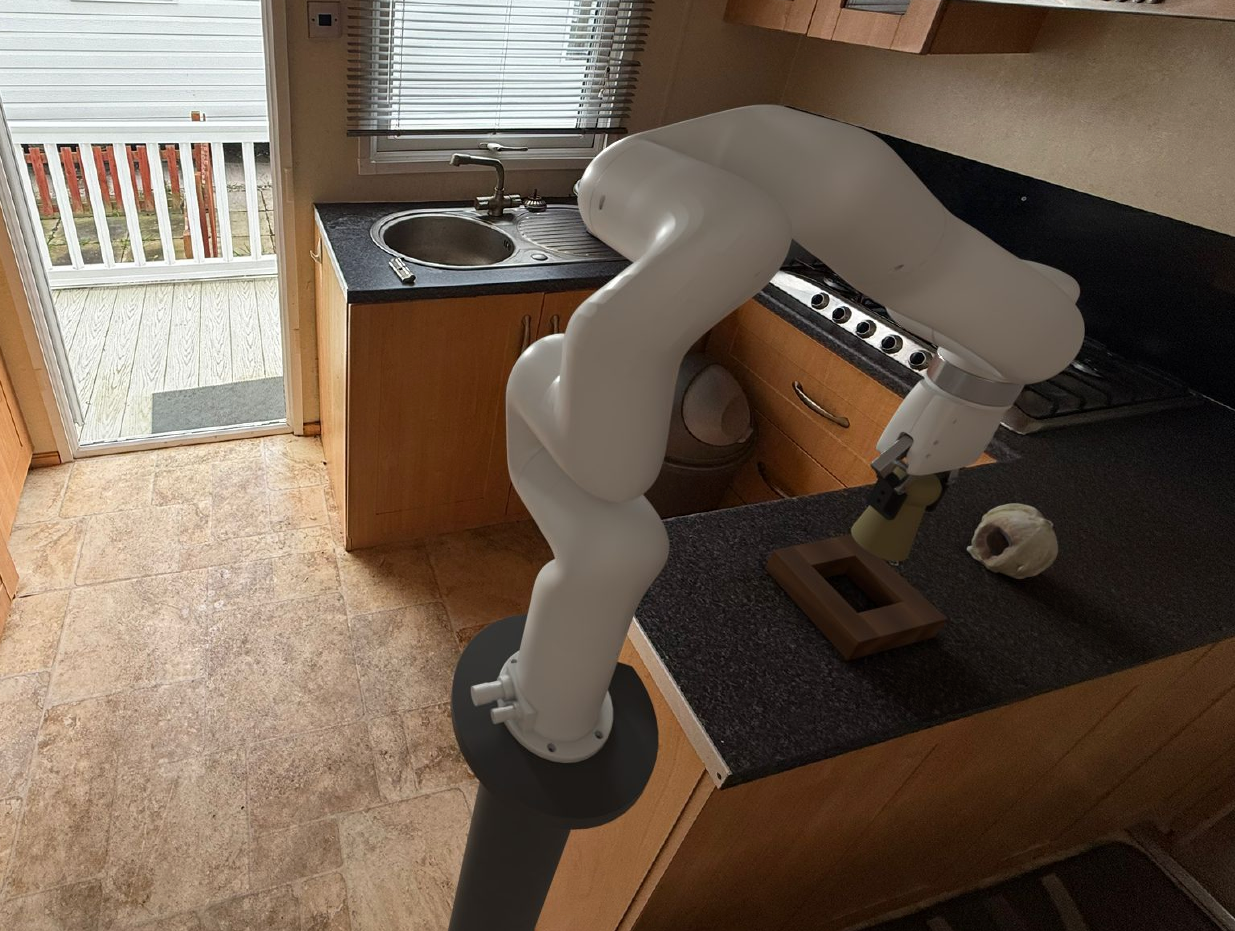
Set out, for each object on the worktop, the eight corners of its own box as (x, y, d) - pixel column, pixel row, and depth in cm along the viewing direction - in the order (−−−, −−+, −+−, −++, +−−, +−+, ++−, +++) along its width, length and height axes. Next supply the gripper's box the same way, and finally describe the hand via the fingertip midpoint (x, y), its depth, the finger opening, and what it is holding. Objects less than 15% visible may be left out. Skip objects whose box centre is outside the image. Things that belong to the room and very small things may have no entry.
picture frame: (847, 661, 77) (859, 642, 76) (764, 568, 89) (773, 550, 87) (934, 637, 81) (948, 618, 79) (844, 551, 92) (854, 533, 90)
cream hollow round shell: (968, 549, 97) (990, 486, 95) (1045, 579, 91) (1070, 513, 89) (959, 565, 91) (983, 498, 89) (1042, 598, 85) (1069, 527, 83)
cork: (858, 553, 78) (897, 483, 72) (845, 516, 83) (880, 449, 77) (916, 567, 76) (960, 497, 71) (899, 529, 81) (939, 461, 76)
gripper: (997, 350, 73) (925, 474, 82) (877, 366, 69) (815, 495, 78) (1071, 389, 67) (985, 518, 76) (945, 409, 62) (869, 544, 71)
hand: (899, 505), depth 77 cm, fingers closed on cork, 5 cm apart
